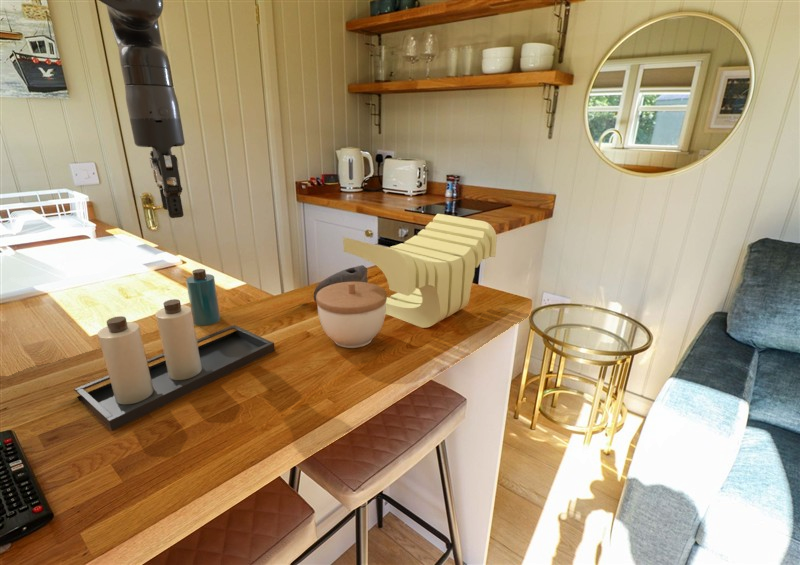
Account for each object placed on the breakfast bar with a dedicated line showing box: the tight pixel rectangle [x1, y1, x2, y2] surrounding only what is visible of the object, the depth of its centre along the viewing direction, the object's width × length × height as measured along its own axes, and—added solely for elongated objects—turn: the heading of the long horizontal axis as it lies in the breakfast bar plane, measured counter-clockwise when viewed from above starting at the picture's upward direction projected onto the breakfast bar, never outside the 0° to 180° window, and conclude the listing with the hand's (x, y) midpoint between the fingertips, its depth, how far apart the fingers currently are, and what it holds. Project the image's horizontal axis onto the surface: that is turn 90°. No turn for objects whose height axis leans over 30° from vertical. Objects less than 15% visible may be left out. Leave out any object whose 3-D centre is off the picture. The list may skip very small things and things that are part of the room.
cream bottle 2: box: [154, 298, 202, 380], centre depth 65 cm, size 5×5×12 cm
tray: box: [73, 324, 276, 432], centre depth 67 cm, size 12×26×2 cm, turn 144°
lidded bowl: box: [315, 282, 388, 349], centre depth 77 cm, size 13×13×11 cm
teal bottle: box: [185, 268, 221, 327], centre depth 80 cm, size 5×5×12 cm
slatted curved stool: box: [342, 213, 498, 329], centre depth 88 cm, size 30×16×18 cm, turn 139°
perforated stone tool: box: [313, 264, 369, 304], centre depth 94 cm, size 15×5×7 cm, turn 133°
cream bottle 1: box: [97, 315, 154, 405], centre depth 59 cm, size 5×5×12 cm
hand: (173, 213), depth 76 cm, fingers open, 8 cm apart
